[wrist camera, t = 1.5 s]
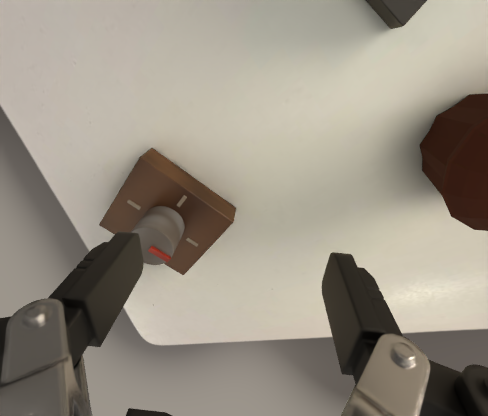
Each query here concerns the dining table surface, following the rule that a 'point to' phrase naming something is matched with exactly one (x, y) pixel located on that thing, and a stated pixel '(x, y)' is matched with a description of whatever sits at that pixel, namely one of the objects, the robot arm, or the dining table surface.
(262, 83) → the dining table surface
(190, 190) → the panel
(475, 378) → the robot arm
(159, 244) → the volume knob
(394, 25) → the tiered pedestal stack
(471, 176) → the muffin
